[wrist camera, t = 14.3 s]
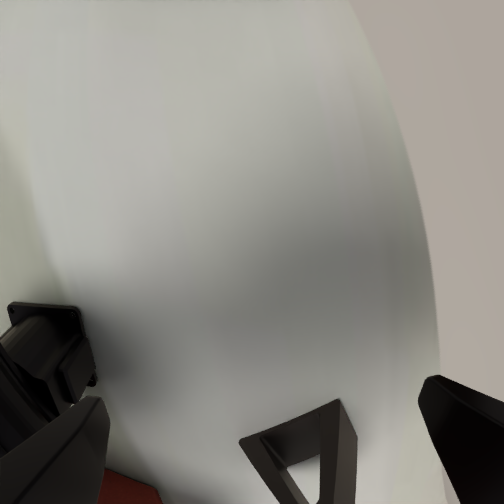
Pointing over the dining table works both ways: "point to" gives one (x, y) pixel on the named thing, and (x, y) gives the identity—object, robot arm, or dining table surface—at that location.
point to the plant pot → (125, 491)
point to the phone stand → (308, 454)
